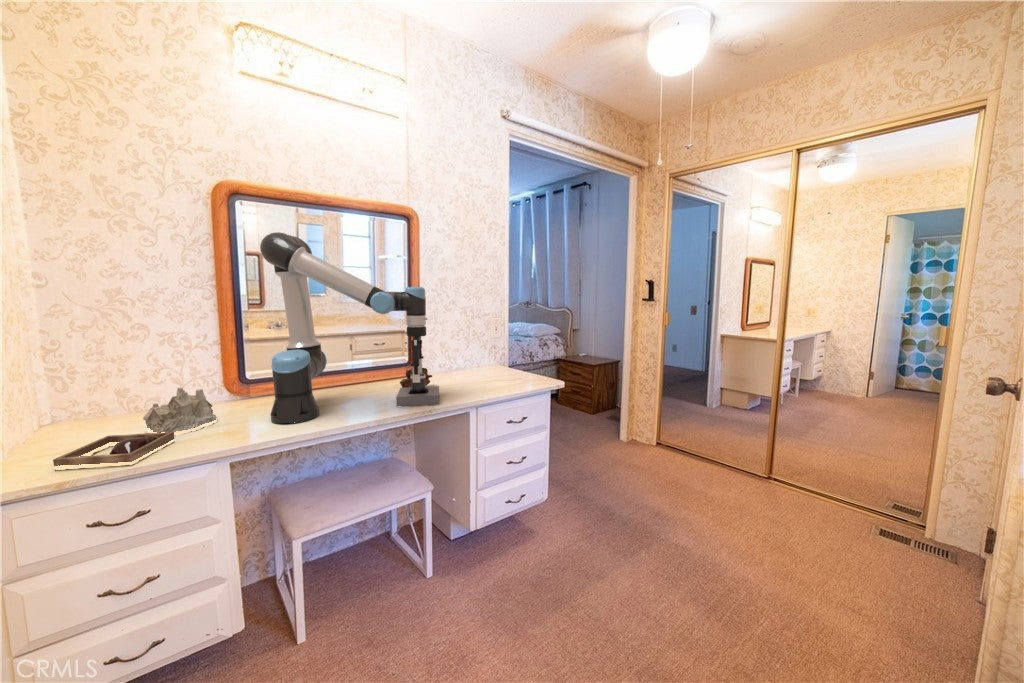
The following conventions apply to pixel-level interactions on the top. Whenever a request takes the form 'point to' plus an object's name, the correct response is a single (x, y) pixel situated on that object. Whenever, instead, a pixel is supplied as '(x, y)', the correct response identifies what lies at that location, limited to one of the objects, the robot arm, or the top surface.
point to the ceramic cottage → (180, 413)
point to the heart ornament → (131, 445)
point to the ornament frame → (74, 458)
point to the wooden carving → (407, 382)
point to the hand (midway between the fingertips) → (417, 378)
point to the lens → (418, 385)
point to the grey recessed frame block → (418, 397)
